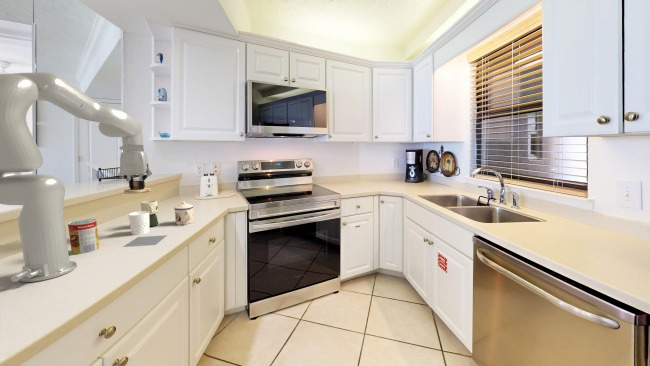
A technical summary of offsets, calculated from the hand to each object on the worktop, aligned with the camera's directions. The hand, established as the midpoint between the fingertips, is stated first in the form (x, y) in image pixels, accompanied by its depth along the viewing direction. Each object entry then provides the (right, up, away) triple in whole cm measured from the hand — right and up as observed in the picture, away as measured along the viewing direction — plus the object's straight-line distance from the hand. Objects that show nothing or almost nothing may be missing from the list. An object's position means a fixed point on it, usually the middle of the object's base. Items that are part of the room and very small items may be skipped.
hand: (137, 188), depth 117 cm
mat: (+10, -23, -8) cm, 26 cm away
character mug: (-4, -20, +15) cm, 26 cm away
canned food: (-6, -24, -18) cm, 31 cm away
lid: (0, -1, 0) cm, 1 cm away
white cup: (0, -22, +3) cm, 22 cm away
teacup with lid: (+11, -19, +21) cm, 30 cm away
